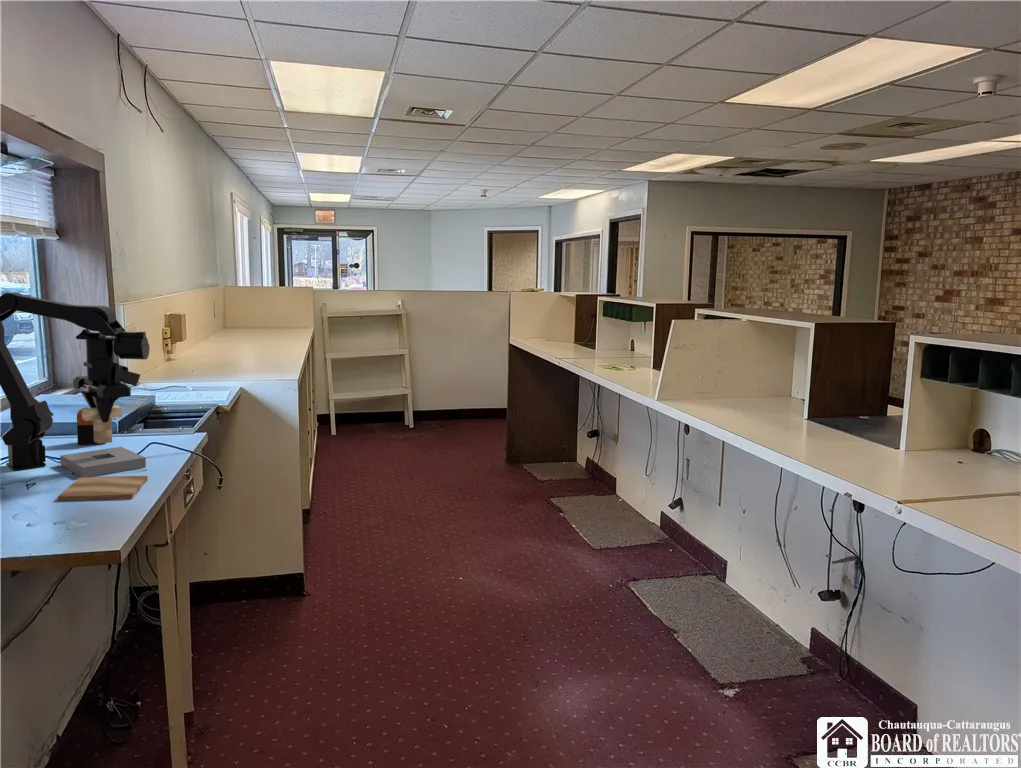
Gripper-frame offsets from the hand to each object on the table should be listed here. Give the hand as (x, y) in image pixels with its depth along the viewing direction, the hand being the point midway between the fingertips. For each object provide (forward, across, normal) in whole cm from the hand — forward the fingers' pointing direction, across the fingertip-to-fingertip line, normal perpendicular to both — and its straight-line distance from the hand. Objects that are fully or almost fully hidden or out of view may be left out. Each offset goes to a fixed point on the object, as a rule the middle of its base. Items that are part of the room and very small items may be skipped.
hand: (102, 421), depth 165 cm
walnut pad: (+12, -19, +7) cm, 23 cm away
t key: (+5, 0, 0) cm, 5 cm away
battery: (+12, +25, -7) cm, 29 cm away
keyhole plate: (+12, 0, 0) cm, 12 cm away
